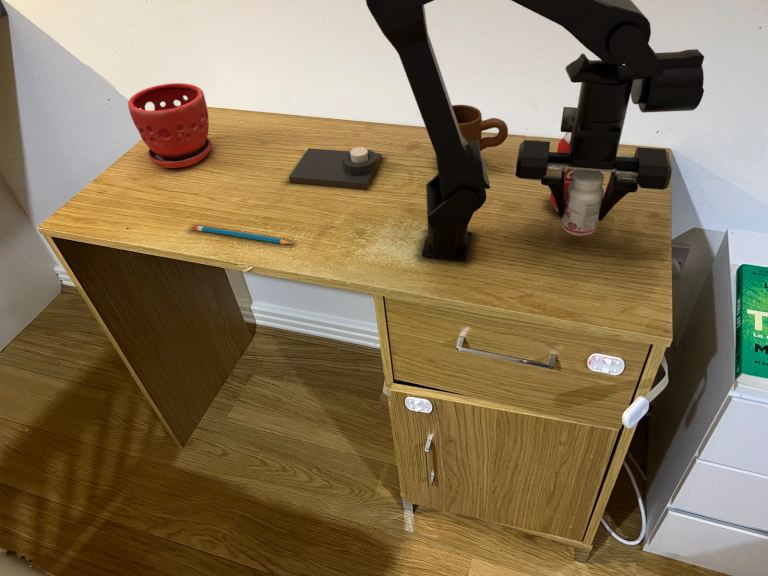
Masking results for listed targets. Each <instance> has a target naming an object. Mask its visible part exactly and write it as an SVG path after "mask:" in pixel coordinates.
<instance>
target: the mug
mask: <svg viewBox="0 0 768 576" xmlns="http://www.w3.org/2000/svg"><path fill="white" fill-rule="evenodd" d="M452 107H453V110H454V113H455V116H456V119H457V122H458V125H459V128H460V132H461V134H462V136H463V137H464V138H465V140H466V141H467V142H468V143H471V142H473V141H475V140H478V142H479V148H480V153H481V152H482V151H483V150H485V149H487V148H495V147H498V146H501V145H502V144H503V143H505V141H506V139H507V137H508V134H509V127H508V124H507V123H506V122H505V121H504V120H502V119H500V118H497V117H491V118H487V119H482V118H483V116H482V112H481V110H480V109H479V108H477V107H475V106H473V105H468V104H452ZM494 128H495V129H497V130H498V133H497V134H496V135H495V136H485V137H483V138H482V136H483V135H482V134H483V133H482V132H484V131H488V130H490V129H494Z"/></svg>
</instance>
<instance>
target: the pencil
mask: <svg viewBox="0 0 768 576" xmlns="http://www.w3.org/2000/svg"><path fill="white" fill-rule="evenodd" d="M193 230H194V231H198V232H205V233H210V234H215V235H216V234H217V235H223V236H228V237H234V238H235V237H236V238H240V239H241V238H242V239H248V240H254V241H260V242H266V243H272V244H278V245H291V244H292V243H291V242H290V241H287V240H285V239H282V238H279V237H278V238H277V237H271V236H265V235H259V234H252V233H245V232H239V231H234V230H227V229H221V228H215V227H208V226H202V225H197V224H196V225H193Z"/></svg>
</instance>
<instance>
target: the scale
mask: <svg viewBox="0 0 768 576" xmlns="http://www.w3.org/2000/svg"><path fill="white" fill-rule="evenodd" d="M366 149H367V150H368V160H367V161H366V162H362V163H354V162H352V161H351V155H350V151H351V150H342V149H341V150H340V149H339V150H338V149H328V148H327V149H325V148H311V147H308V148H307V150H306V151H305V153H304V154H303V155H302V157H301V158H300V160H299V161H298V163H297V164H296V166H295V167H294V169H293V170H292V171H291V173H290V174H289V176H288V179H289V183H290V184H291V183H292V184H303V185H312V186H313V185H315V186H326V187H338V188H349V189H361V190H368V188H369V186H370V184H371V182H372V180H373V178H374V176H375V174H376V172H377V170H378V168H379V166H380V164H381V162H382V160H383V156H382V152H381V153H380V152H375V151H373V150H371V149H368V148H366Z"/></svg>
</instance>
